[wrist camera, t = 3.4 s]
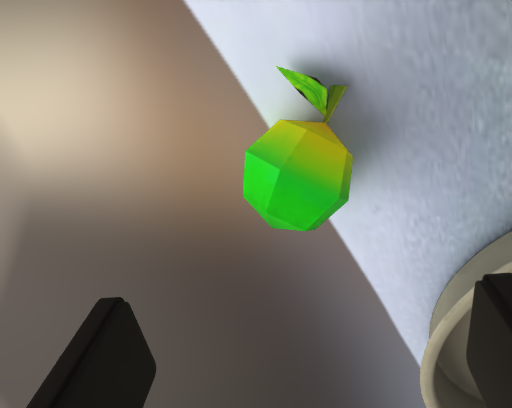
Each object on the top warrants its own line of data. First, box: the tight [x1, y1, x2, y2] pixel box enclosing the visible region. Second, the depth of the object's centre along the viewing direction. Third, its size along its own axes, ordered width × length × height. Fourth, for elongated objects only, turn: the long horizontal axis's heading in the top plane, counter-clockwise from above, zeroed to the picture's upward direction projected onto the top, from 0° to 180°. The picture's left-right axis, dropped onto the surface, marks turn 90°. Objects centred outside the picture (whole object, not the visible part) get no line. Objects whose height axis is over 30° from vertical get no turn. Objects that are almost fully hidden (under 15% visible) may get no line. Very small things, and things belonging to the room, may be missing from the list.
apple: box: [243, 66, 353, 231], centre depth 21 cm, size 7×6×9 cm
